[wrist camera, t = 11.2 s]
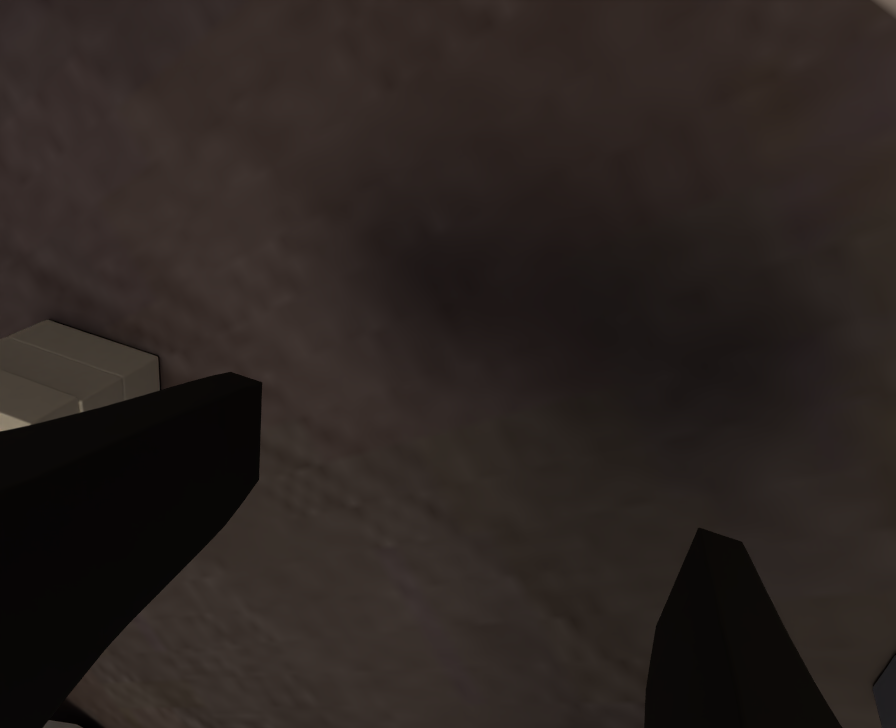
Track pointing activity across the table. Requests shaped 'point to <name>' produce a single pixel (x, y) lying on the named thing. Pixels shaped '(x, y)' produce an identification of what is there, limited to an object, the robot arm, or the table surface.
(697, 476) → the table surface
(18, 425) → the beige box
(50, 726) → the white jar
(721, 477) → the table surface
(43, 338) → the beige block
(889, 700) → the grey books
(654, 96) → the table surface
